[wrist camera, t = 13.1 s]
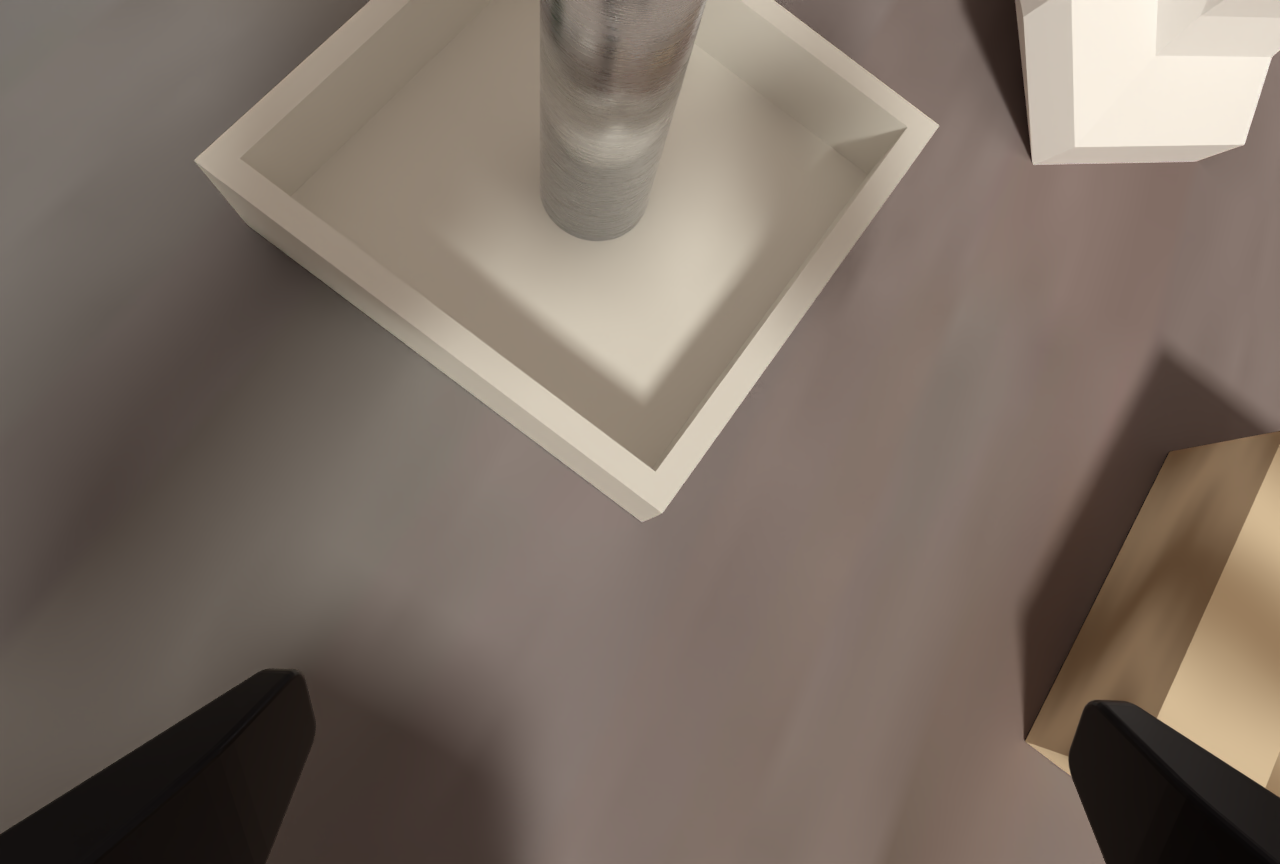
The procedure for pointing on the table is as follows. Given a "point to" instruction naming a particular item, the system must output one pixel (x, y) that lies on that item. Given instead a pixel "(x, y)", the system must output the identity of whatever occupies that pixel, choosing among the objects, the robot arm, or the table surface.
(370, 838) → the table surface
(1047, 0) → the white tetrapod block
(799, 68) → the tray
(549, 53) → the steel pin
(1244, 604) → the block
